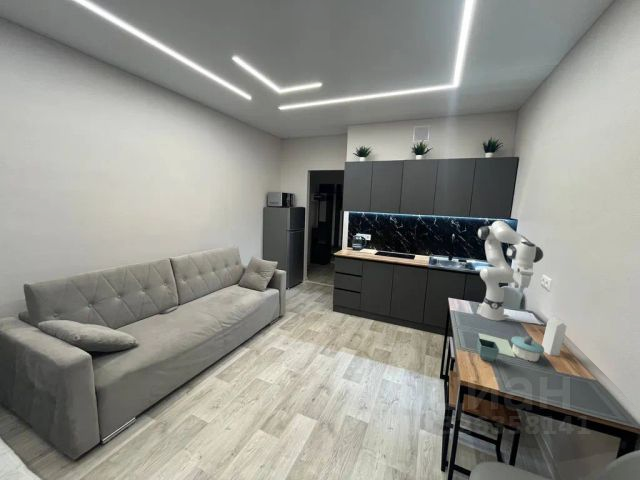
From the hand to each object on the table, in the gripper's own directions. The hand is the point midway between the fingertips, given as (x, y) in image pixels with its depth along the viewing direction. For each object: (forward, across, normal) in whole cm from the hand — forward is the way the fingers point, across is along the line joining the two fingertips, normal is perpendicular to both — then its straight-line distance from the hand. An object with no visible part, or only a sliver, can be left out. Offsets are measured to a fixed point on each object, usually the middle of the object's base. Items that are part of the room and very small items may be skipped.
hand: (518, 290), depth 159 cm
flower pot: (+34, +31, -16) cm, 49 cm away
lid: (+28, +14, +6) cm, 32 cm away
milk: (+34, +2, +21) cm, 40 cm away
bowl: (+34, +14, +6) cm, 37 cm away
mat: (+34, +11, -8) cm, 37 cm away
